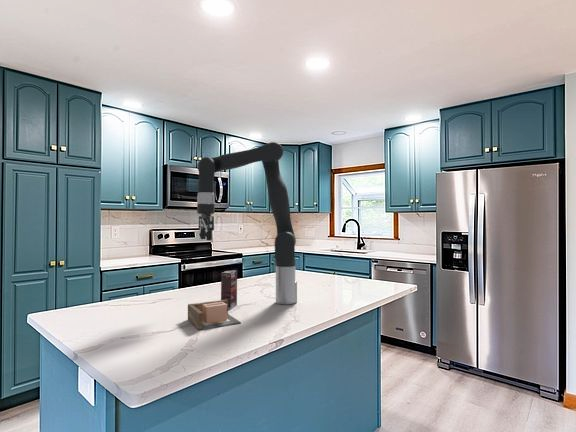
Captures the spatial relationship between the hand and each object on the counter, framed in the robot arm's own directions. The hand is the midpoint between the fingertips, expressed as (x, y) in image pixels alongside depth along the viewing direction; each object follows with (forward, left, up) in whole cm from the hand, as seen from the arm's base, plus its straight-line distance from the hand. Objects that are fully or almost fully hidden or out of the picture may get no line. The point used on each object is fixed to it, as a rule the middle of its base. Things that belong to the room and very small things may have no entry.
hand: (206, 239), depth 158 cm
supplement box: (-9, +5, -30) cm, 32 cm away
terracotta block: (+4, +23, -29) cm, 37 cm away
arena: (+4, +22, -30) cm, 37 cm away
